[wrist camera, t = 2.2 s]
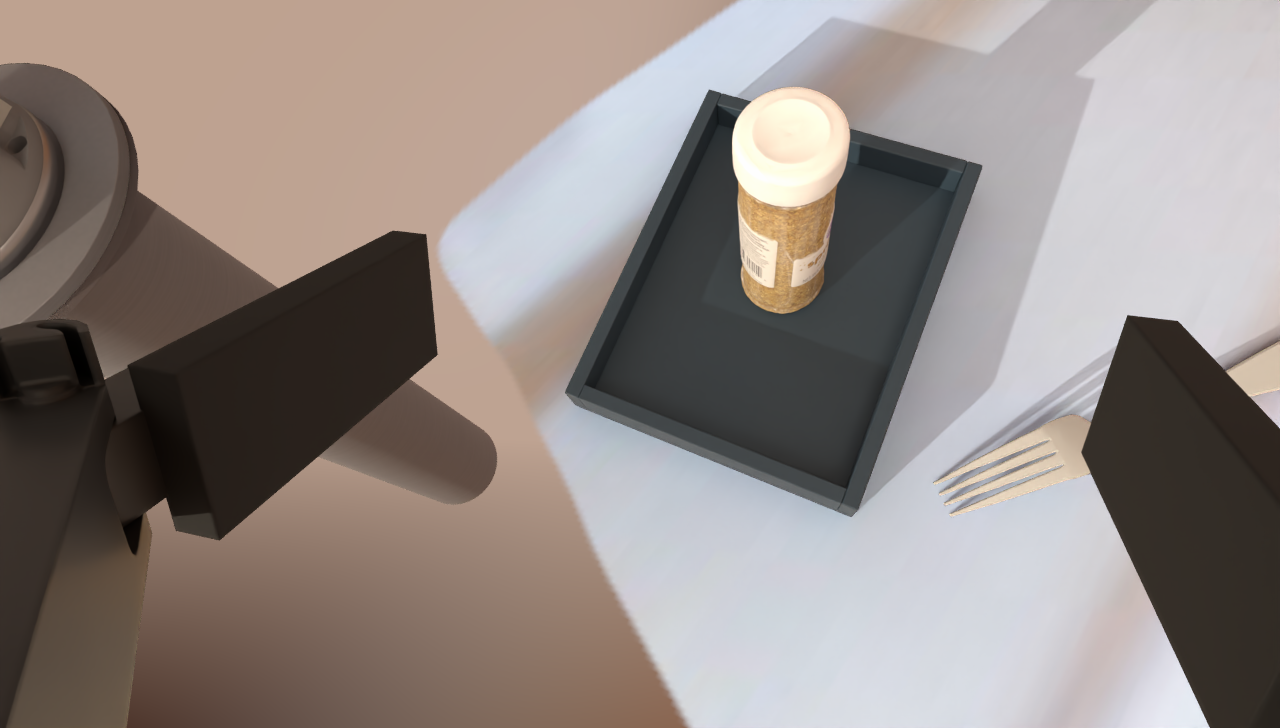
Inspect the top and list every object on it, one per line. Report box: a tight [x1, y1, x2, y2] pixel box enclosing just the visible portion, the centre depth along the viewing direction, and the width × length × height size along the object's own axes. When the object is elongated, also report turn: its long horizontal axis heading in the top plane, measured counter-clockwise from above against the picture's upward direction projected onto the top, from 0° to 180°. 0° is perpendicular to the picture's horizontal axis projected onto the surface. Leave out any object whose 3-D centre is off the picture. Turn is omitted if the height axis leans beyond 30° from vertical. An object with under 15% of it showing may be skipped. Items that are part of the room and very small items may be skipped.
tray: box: [565, 90, 982, 517], centre depth 41 cm, size 16×20×2 cm
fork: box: [933, 341, 1280, 517], centre depth 38 cm, size 3×21×3 cm, turn 110°
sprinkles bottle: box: [732, 87, 850, 314], centre depth 36 cm, size 5×5×14 cm
